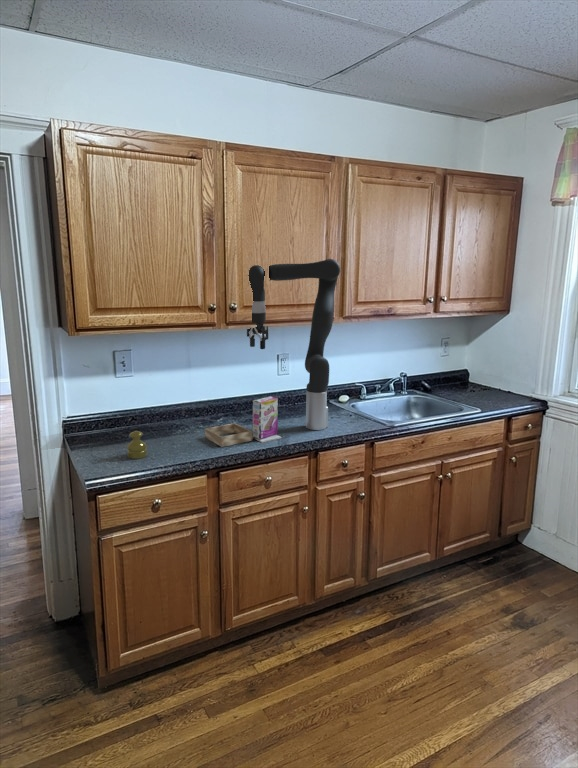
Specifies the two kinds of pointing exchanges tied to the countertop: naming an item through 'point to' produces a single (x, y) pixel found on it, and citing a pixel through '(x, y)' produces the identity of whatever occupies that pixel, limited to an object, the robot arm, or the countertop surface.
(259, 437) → the candy bar box
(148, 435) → the countertop surface
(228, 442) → the wooden square frame
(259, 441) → the mat
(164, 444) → the countertop surface
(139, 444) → the brass calibration weight
